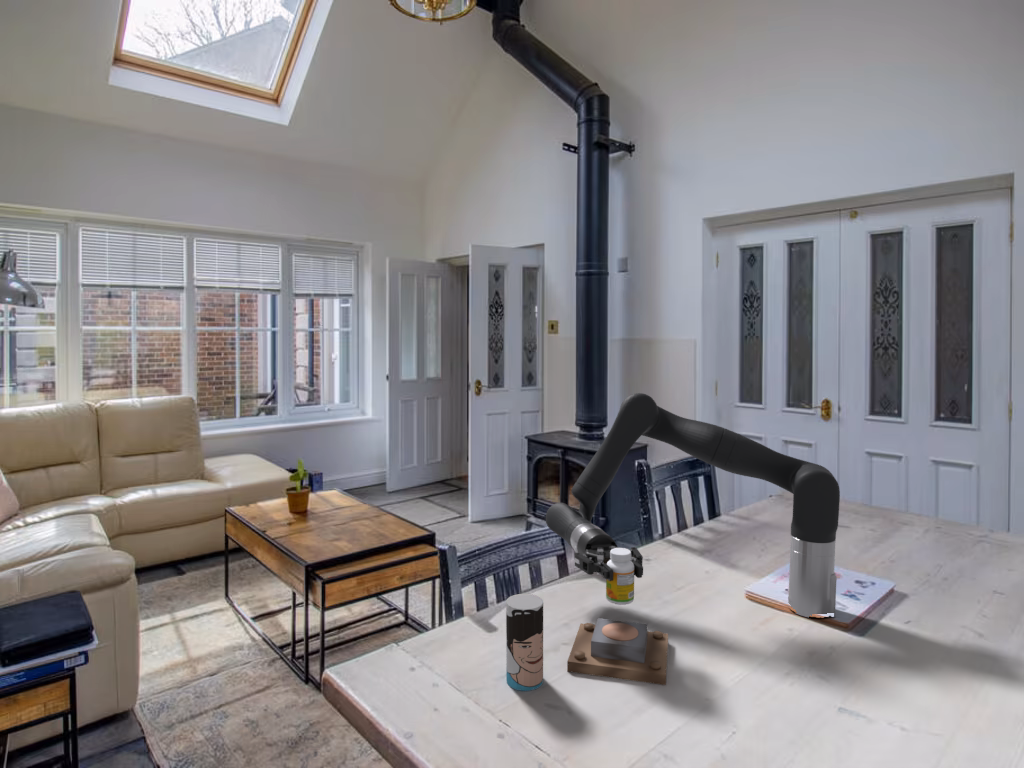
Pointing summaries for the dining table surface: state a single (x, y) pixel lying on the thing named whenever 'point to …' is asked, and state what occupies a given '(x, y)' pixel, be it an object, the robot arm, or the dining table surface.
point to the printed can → (524, 642)
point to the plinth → (620, 666)
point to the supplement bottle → (620, 577)
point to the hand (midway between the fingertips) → (626, 574)
